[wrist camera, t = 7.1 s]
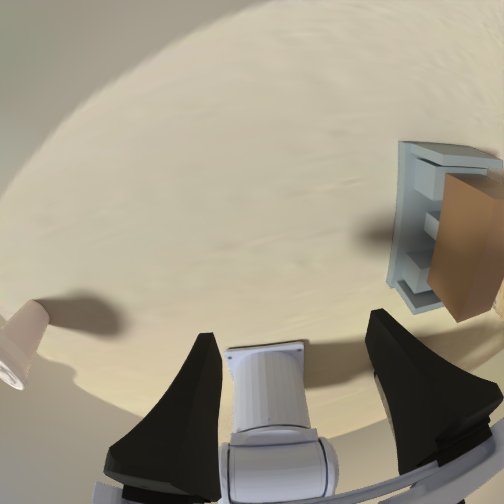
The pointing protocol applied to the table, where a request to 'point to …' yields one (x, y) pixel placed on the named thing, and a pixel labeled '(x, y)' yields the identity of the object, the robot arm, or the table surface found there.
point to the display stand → (425, 213)
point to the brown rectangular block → (469, 245)
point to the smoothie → (21, 342)
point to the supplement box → (500, 302)
